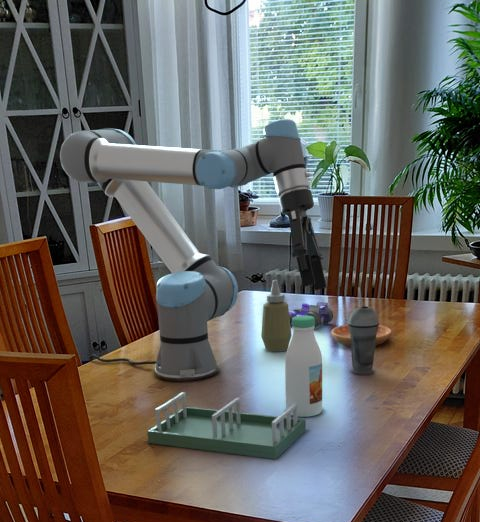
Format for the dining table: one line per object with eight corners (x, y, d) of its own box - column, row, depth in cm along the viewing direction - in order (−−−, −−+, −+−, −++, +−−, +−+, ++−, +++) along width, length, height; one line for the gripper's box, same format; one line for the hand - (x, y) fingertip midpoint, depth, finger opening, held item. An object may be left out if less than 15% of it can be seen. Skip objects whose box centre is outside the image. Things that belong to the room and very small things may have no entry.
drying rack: (148, 443, 171) (145, 412, 168) (186, 417, 184) (183, 388, 181) (275, 459, 160) (274, 426, 157) (305, 431, 173) (305, 400, 170)
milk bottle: (297, 420, 179) (296, 323, 171) (279, 410, 186) (277, 316, 177) (329, 413, 182) (329, 318, 174) (310, 403, 189) (309, 311, 180)
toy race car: (290, 318, 262) (290, 296, 260) (333, 323, 254) (333, 301, 252) (272, 325, 256) (272, 303, 253) (316, 330, 248) (316, 307, 245)
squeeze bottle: (297, 347, 232) (296, 278, 224) (282, 354, 226) (280, 284, 218) (271, 344, 236) (269, 276, 228) (255, 351, 230) (253, 282, 222)
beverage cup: (376, 376, 205) (379, 290, 196) (345, 375, 206) (347, 290, 198) (378, 367, 211) (381, 284, 203) (348, 367, 213) (349, 284, 204)
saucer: (394, 347, 228) (395, 336, 226) (333, 349, 228) (334, 338, 227) (386, 332, 242) (387, 322, 241) (329, 335, 243) (329, 324, 241)
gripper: (298, 178, 183) (320, 279, 185) (320, 196, 206) (340, 285, 209) (264, 188, 185) (287, 288, 188) (290, 206, 208) (310, 294, 211)
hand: (315, 287), depth 198 cm, fingers open, 13 cm apart
